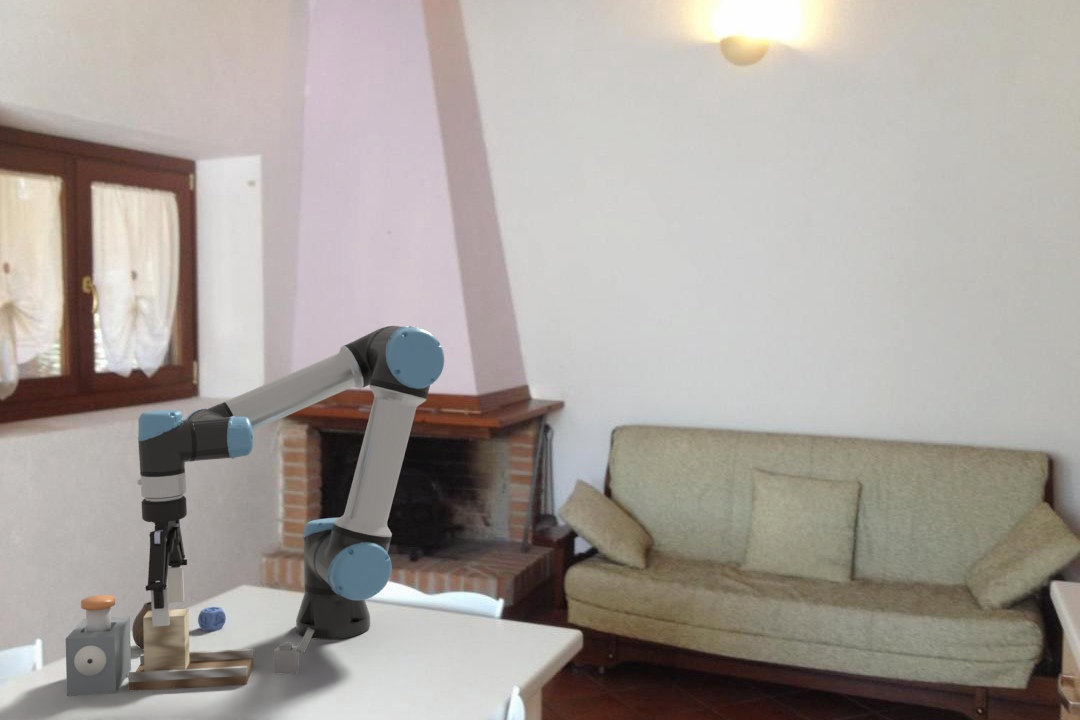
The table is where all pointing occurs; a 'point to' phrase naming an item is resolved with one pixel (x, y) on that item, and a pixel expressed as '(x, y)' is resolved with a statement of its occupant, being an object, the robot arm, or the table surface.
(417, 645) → the table surface
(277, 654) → the lighter
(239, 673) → the rail board
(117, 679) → the cabinet
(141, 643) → the vase
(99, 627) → the plunger
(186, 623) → the beige wooden block
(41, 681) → the table surface
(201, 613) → the decorative dice
